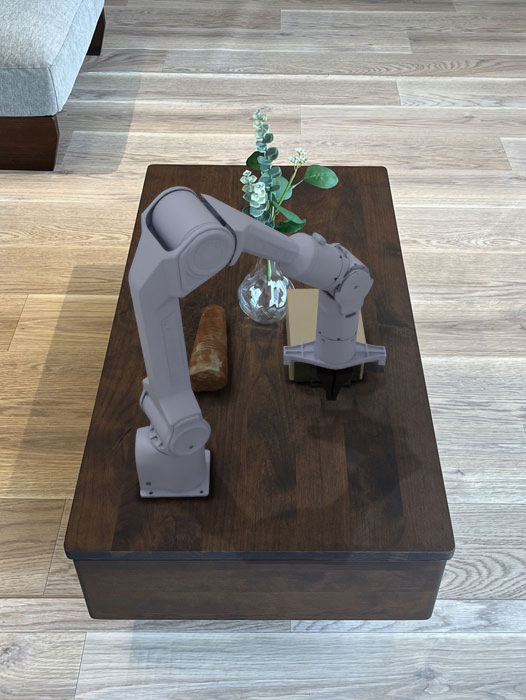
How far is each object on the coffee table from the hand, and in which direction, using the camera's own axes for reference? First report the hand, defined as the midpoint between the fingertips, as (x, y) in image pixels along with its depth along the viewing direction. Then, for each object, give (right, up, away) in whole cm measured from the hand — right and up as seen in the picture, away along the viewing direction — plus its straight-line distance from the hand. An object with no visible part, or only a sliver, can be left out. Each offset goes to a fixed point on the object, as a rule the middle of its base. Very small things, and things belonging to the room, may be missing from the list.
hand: (330, 395), depth 119 cm
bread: (-19, +6, +12) cm, 23 cm away
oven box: (0, +7, +13) cm, 14 cm away
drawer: (0, +5, +9) cm, 10 cm away
